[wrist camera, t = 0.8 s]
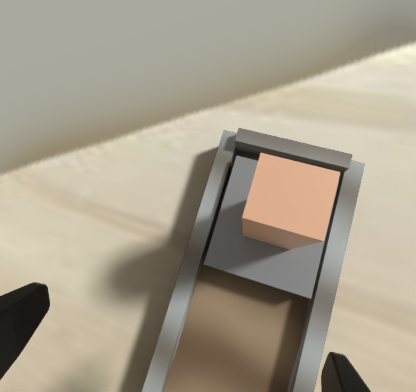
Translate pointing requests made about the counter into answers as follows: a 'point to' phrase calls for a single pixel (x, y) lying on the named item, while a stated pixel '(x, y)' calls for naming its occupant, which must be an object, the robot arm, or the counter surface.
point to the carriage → (274, 222)
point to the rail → (251, 293)
